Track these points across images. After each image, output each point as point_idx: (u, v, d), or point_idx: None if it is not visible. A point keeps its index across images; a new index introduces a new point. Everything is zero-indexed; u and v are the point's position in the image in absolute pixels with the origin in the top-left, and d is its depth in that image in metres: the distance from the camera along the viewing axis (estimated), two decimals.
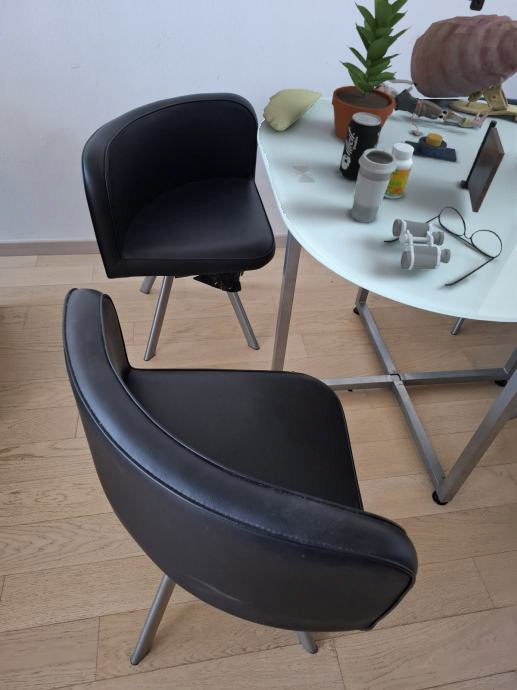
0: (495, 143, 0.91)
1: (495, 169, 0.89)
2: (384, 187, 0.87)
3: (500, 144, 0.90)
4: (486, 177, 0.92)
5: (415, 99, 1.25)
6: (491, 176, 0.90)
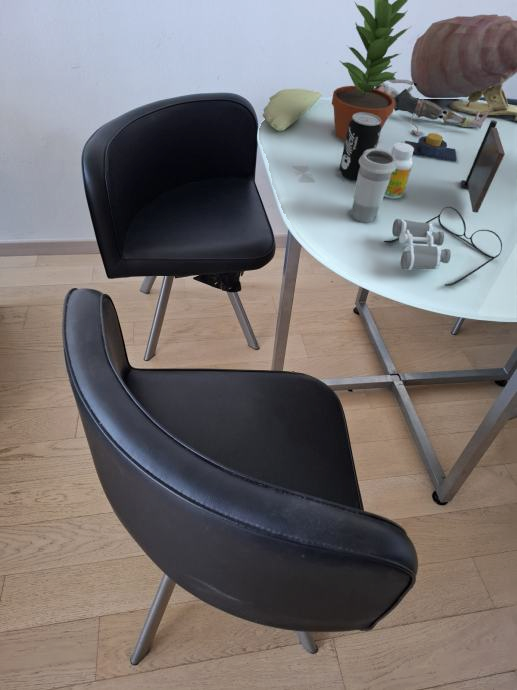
0: (495, 143, 0.91)
1: (495, 169, 0.89)
2: (384, 187, 0.87)
3: (500, 144, 0.90)
4: (486, 177, 0.92)
5: (415, 99, 1.25)
6: (491, 176, 0.90)
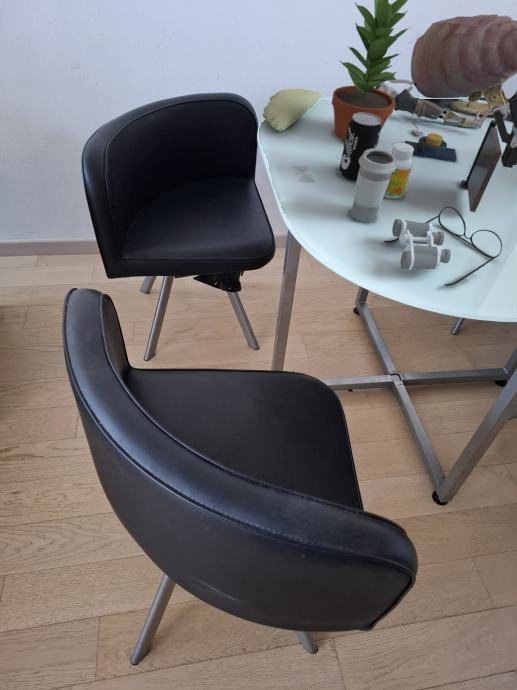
0: (493, 142, 0.91)
1: (492, 168, 0.89)
2: (384, 187, 0.87)
3: (498, 144, 0.90)
4: (483, 176, 0.92)
5: (415, 99, 1.25)
6: (488, 175, 0.90)
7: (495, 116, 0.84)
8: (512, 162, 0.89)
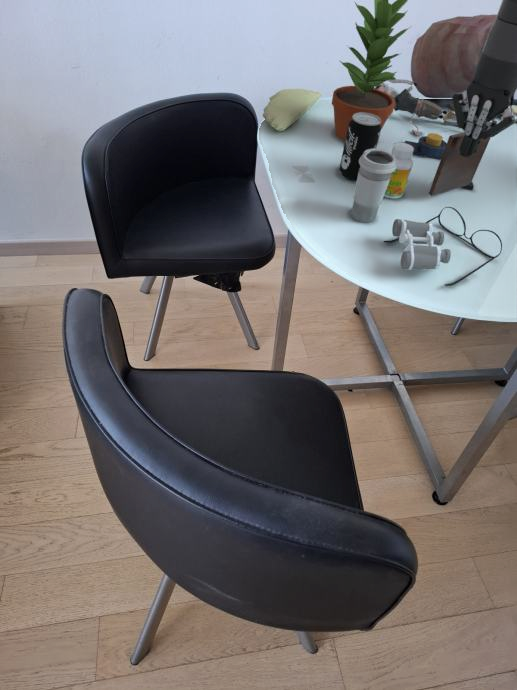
0: None
1: (446, 152, 0.93)
2: (384, 187, 0.87)
3: None
4: None
5: (415, 99, 1.25)
6: (443, 159, 0.94)
7: (453, 98, 0.88)
8: (466, 151, 0.90)
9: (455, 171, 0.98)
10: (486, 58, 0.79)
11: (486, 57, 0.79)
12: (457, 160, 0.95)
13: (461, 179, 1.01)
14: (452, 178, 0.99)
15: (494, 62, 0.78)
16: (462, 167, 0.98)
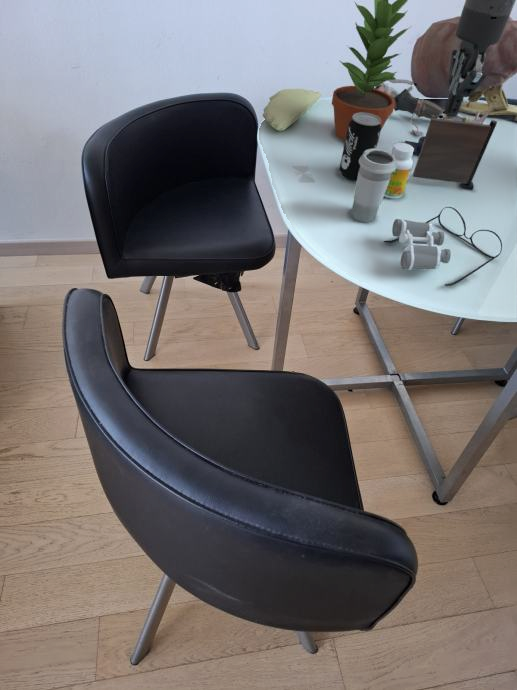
0: None
1: (426, 134, 0.98)
2: (384, 187, 0.87)
3: (451, 121, 0.95)
4: None
5: (415, 99, 1.25)
6: (424, 141, 0.99)
7: (451, 54, 0.90)
8: (447, 108, 0.91)
9: (442, 160, 1.01)
10: (463, 7, 0.81)
11: None
12: (442, 147, 0.99)
13: (453, 172, 1.02)
14: (438, 166, 1.02)
15: (465, 11, 0.80)
16: (452, 159, 1.00)
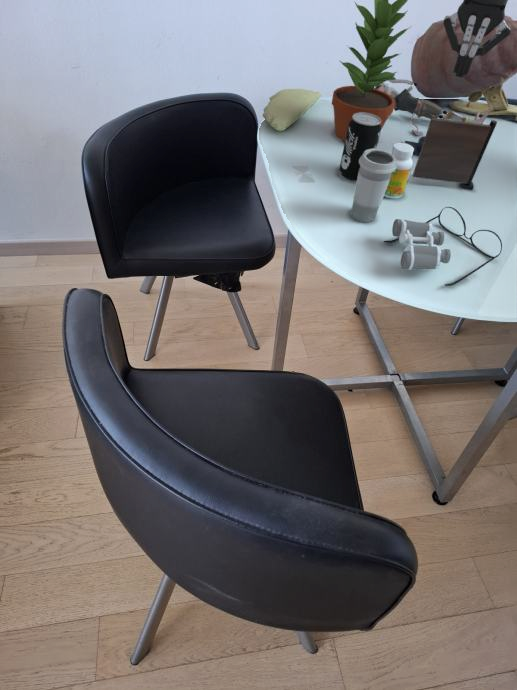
0: None
1: (426, 134, 0.98)
2: (384, 187, 0.87)
3: (451, 121, 0.95)
4: None
5: (415, 99, 1.25)
6: (424, 141, 0.99)
7: (445, 23, 0.93)
8: (462, 71, 0.97)
9: (442, 160, 1.01)
10: None
11: None
12: (442, 147, 0.99)
13: (453, 172, 1.02)
14: (438, 166, 1.02)
15: None
16: (452, 159, 1.00)
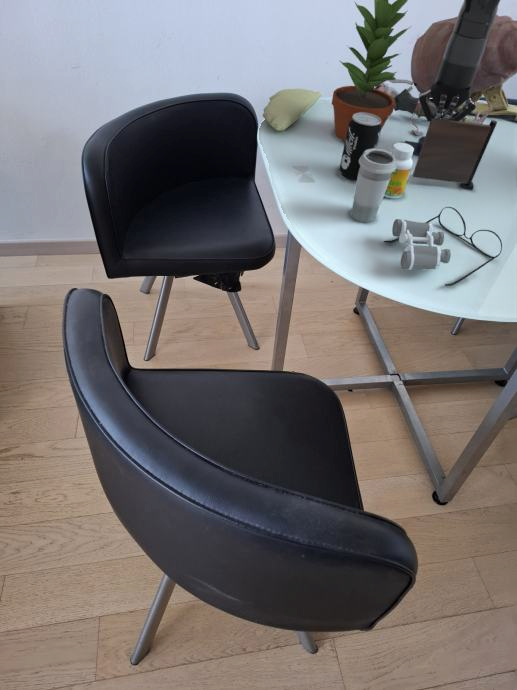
0: None
1: (426, 134, 0.98)
2: (384, 187, 0.87)
3: (451, 121, 0.95)
4: None
5: (415, 99, 1.25)
6: (424, 141, 0.99)
7: (420, 100, 1.08)
8: None
9: (442, 160, 1.01)
10: (456, 66, 1.00)
11: (456, 66, 1.00)
12: (442, 147, 0.99)
13: (453, 172, 1.02)
14: (438, 166, 1.02)
15: (464, 68, 1.00)
16: (452, 159, 1.00)
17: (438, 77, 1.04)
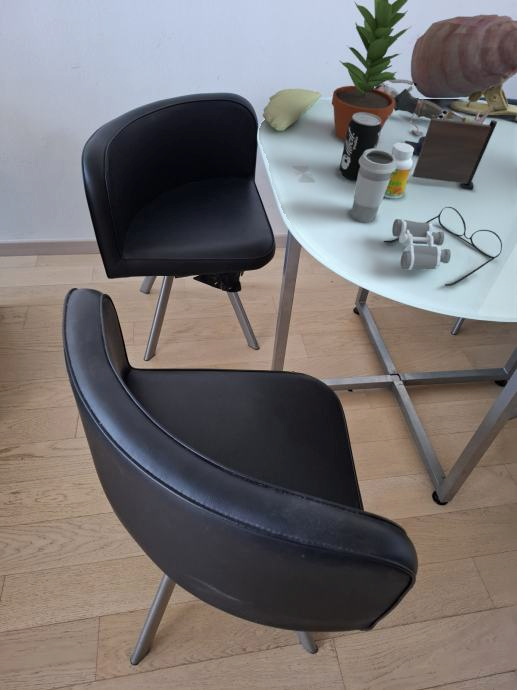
0: None
1: (426, 134, 0.98)
2: (384, 187, 0.87)
3: (451, 121, 0.95)
4: None
5: (415, 99, 1.25)
6: (424, 141, 0.99)
7: None
8: None
9: (442, 160, 1.01)
10: None
11: None
12: (442, 147, 0.99)
13: (453, 172, 1.02)
14: (438, 166, 1.02)
15: None
16: (452, 159, 1.00)
17: None
